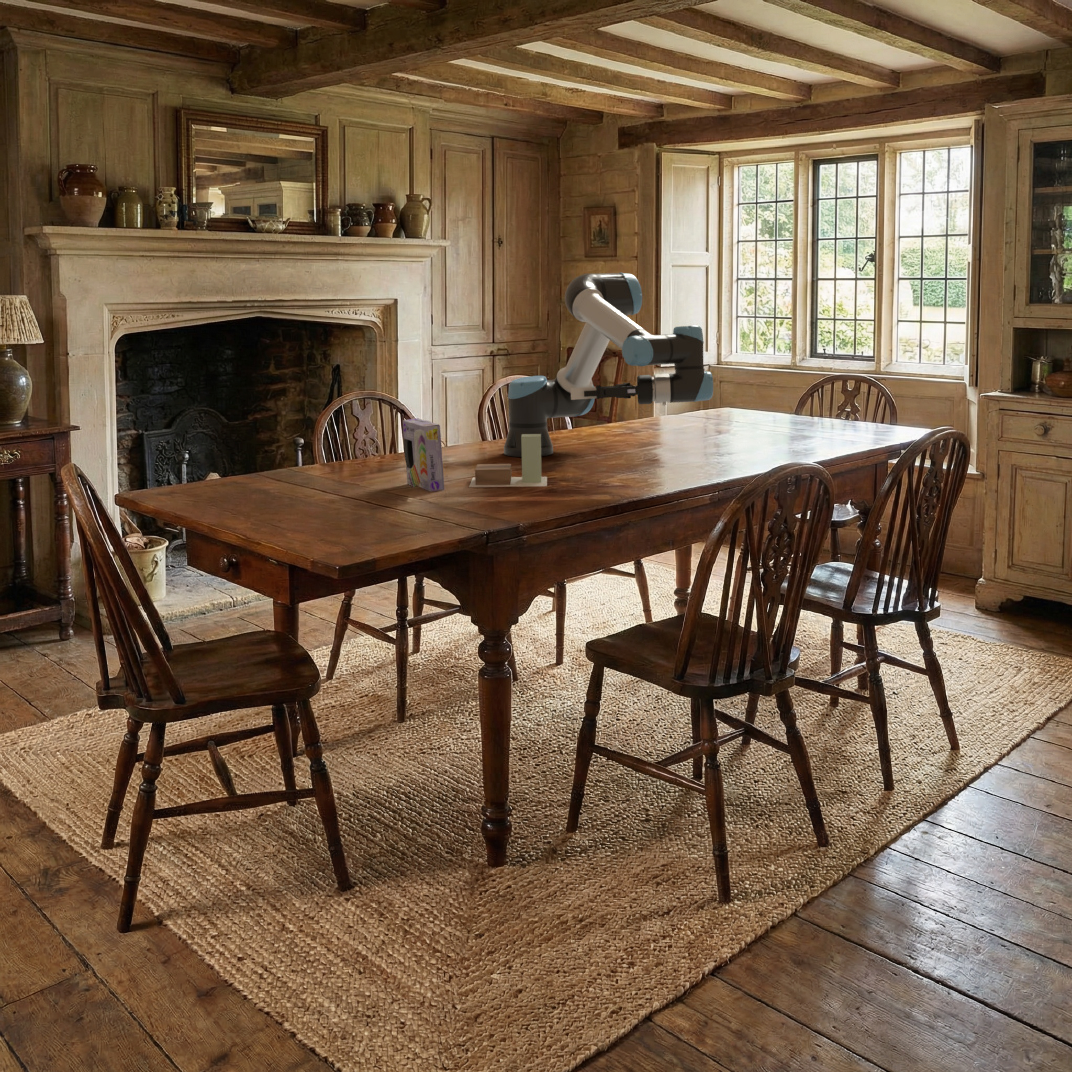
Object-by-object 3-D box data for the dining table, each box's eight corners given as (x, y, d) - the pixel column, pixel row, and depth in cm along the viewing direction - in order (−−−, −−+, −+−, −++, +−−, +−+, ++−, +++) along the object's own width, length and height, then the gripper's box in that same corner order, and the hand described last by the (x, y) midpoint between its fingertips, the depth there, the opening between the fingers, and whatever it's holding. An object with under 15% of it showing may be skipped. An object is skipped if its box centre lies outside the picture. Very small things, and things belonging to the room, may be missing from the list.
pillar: (522, 479, 308) (521, 434, 305) (541, 478, 308) (540, 434, 305) (522, 482, 303) (521, 436, 301) (541, 482, 303) (540, 436, 301)
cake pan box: (403, 483, 310) (401, 417, 306) (421, 482, 312) (419, 416, 308) (426, 495, 293) (424, 425, 289) (445, 493, 295) (443, 424, 291)
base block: (477, 479, 309) (477, 464, 308) (511, 478, 309) (511, 463, 308) (475, 485, 301) (475, 469, 300) (510, 484, 300) (509, 469, 300)
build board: (472, 481, 312) (472, 477, 312) (547, 480, 312) (547, 476, 311) (469, 490, 298) (469, 486, 298) (546, 489, 298) (546, 486, 298)
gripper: (656, 405, 290) (571, 410, 291) (650, 402, 314) (572, 406, 315) (655, 375, 289) (569, 379, 290) (649, 374, 313) (570, 378, 314)
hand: (570, 393), depth 302 cm, fingers open, 13 cm apart
